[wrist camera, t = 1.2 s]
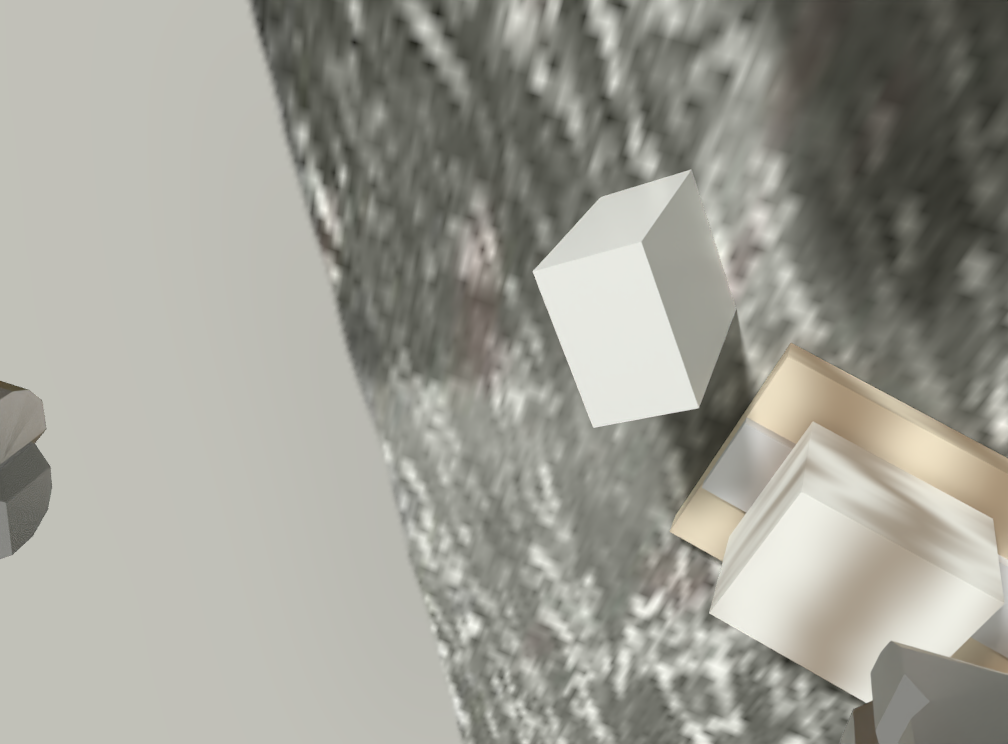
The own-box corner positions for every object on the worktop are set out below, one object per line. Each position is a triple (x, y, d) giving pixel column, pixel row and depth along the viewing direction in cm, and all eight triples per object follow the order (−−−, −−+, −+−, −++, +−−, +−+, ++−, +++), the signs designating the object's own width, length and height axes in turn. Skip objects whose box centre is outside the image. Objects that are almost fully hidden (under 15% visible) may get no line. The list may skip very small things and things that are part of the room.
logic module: (691, 169, 44) (641, 241, 35) (736, 309, 46) (699, 408, 37) (599, 197, 46) (531, 271, 37) (646, 329, 48) (592, 427, 39)
